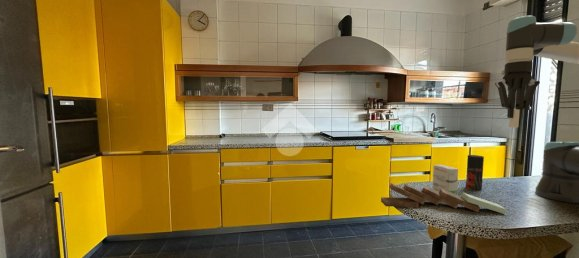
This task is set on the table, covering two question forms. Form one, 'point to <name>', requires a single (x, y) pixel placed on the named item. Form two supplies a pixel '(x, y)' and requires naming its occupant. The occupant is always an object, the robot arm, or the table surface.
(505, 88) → the robot arm
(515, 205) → the table surface
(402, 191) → the domino
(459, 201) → the domino
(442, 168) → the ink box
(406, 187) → the domino
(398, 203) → the domino
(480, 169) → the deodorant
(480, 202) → the domino
